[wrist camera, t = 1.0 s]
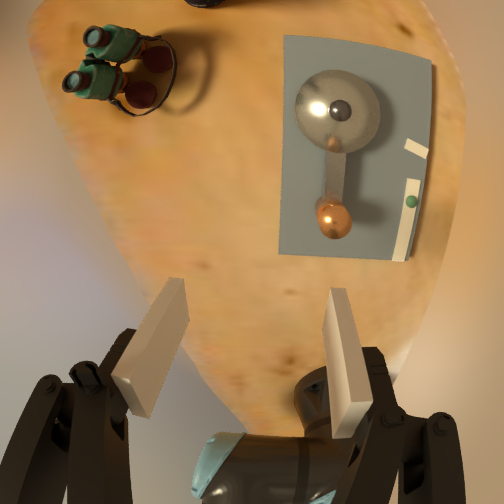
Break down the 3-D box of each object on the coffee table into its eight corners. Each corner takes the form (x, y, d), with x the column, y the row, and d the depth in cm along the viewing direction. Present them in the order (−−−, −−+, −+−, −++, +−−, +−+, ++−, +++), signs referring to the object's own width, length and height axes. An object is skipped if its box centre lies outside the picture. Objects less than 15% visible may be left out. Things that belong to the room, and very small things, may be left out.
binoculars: (125, 132, 20) (44, 97, 18) (164, 121, 29) (98, 93, 27) (175, 33, 16) (83, 9, 14) (201, 54, 25) (129, 28, 23)
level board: (403, 255, 32) (409, 263, 30) (278, 248, 34) (278, 256, 32) (425, 62, 22) (433, 59, 20) (284, 38, 23) (283, 33, 21)
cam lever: (294, 70, 23) (296, 60, 19) (373, 79, 22) (391, 73, 18) (289, 218, 30) (290, 237, 26) (362, 222, 29) (374, 242, 25)
